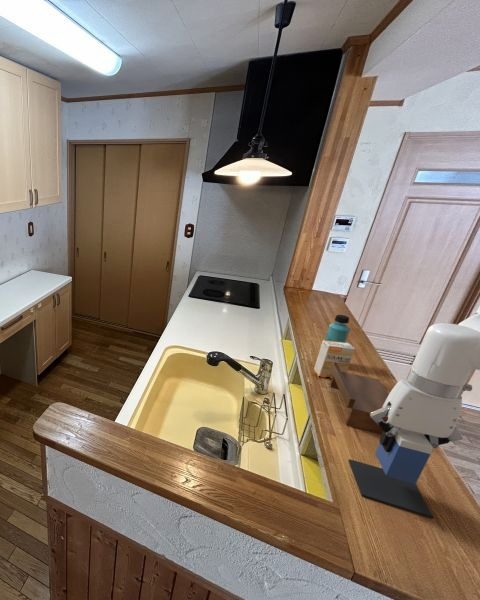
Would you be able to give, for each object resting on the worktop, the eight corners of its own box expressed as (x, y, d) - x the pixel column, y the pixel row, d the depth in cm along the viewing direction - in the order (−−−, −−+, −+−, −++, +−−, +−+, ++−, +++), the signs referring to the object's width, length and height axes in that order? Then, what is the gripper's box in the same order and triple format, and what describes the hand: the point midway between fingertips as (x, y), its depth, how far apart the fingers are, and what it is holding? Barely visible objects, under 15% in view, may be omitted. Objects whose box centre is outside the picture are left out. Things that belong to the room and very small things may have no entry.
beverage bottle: (337, 360, 128) (352, 314, 121) (340, 368, 123) (355, 320, 116) (317, 356, 131) (331, 311, 124) (319, 364, 126) (333, 317, 119)
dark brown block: (372, 394, 108) (381, 371, 105) (399, 438, 89) (411, 412, 86) (325, 384, 113) (332, 362, 110) (341, 424, 95) (350, 398, 92)
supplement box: (318, 377, 117) (328, 345, 112) (313, 370, 121) (322, 339, 117) (344, 380, 115) (355, 348, 111) (338, 373, 120) (348, 342, 115)
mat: (409, 478, 77) (410, 476, 77) (432, 518, 68) (433, 516, 68) (348, 460, 82) (348, 458, 82) (361, 496, 73) (362, 494, 73)
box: (402, 460, 75) (418, 426, 72) (415, 484, 69) (433, 448, 66) (374, 453, 77) (389, 419, 74) (385, 475, 71) (401, 440, 68)
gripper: (480, 384, 65) (444, 453, 71) (373, 364, 72) (349, 429, 78) (506, 406, 59) (464, 480, 65) (386, 382, 66) (358, 450, 72)
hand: (401, 451), depth 72 cm, fingers closed on box, 5 cm apart
